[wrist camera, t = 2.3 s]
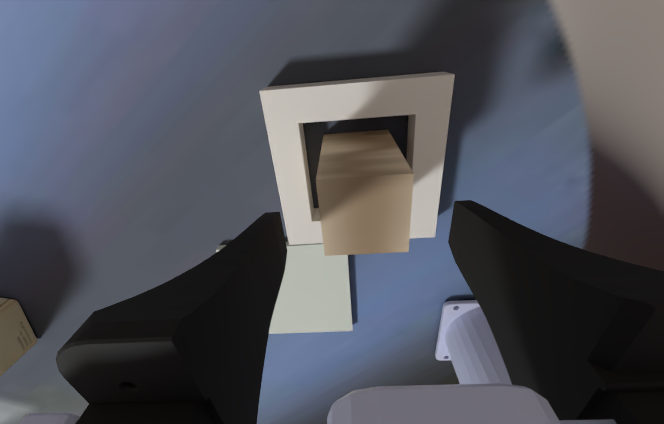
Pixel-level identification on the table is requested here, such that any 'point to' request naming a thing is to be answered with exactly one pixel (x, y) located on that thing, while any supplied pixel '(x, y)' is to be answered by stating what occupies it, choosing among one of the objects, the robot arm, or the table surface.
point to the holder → (355, 103)
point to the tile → (312, 292)
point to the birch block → (364, 194)
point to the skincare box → (13, 333)
